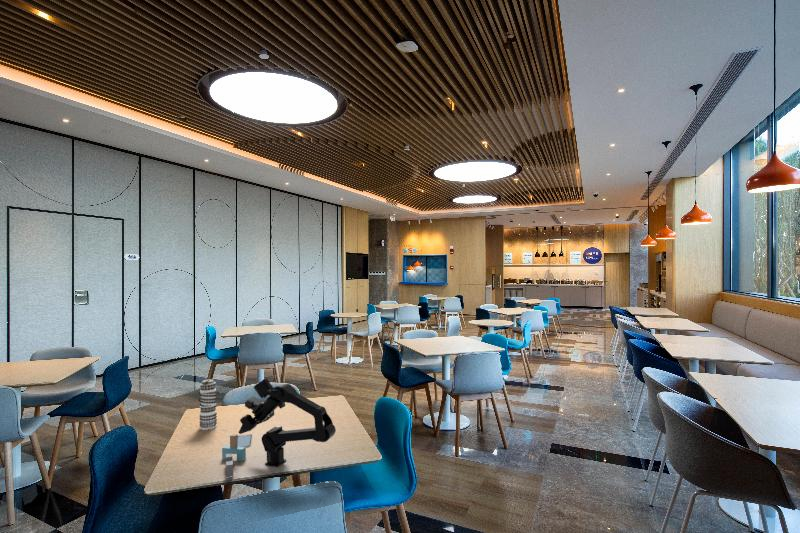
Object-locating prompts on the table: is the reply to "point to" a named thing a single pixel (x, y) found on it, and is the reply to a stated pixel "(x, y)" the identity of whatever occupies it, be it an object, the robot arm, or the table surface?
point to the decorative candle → (208, 404)
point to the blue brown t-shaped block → (234, 449)
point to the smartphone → (244, 440)
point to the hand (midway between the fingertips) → (245, 429)
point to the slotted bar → (229, 465)
